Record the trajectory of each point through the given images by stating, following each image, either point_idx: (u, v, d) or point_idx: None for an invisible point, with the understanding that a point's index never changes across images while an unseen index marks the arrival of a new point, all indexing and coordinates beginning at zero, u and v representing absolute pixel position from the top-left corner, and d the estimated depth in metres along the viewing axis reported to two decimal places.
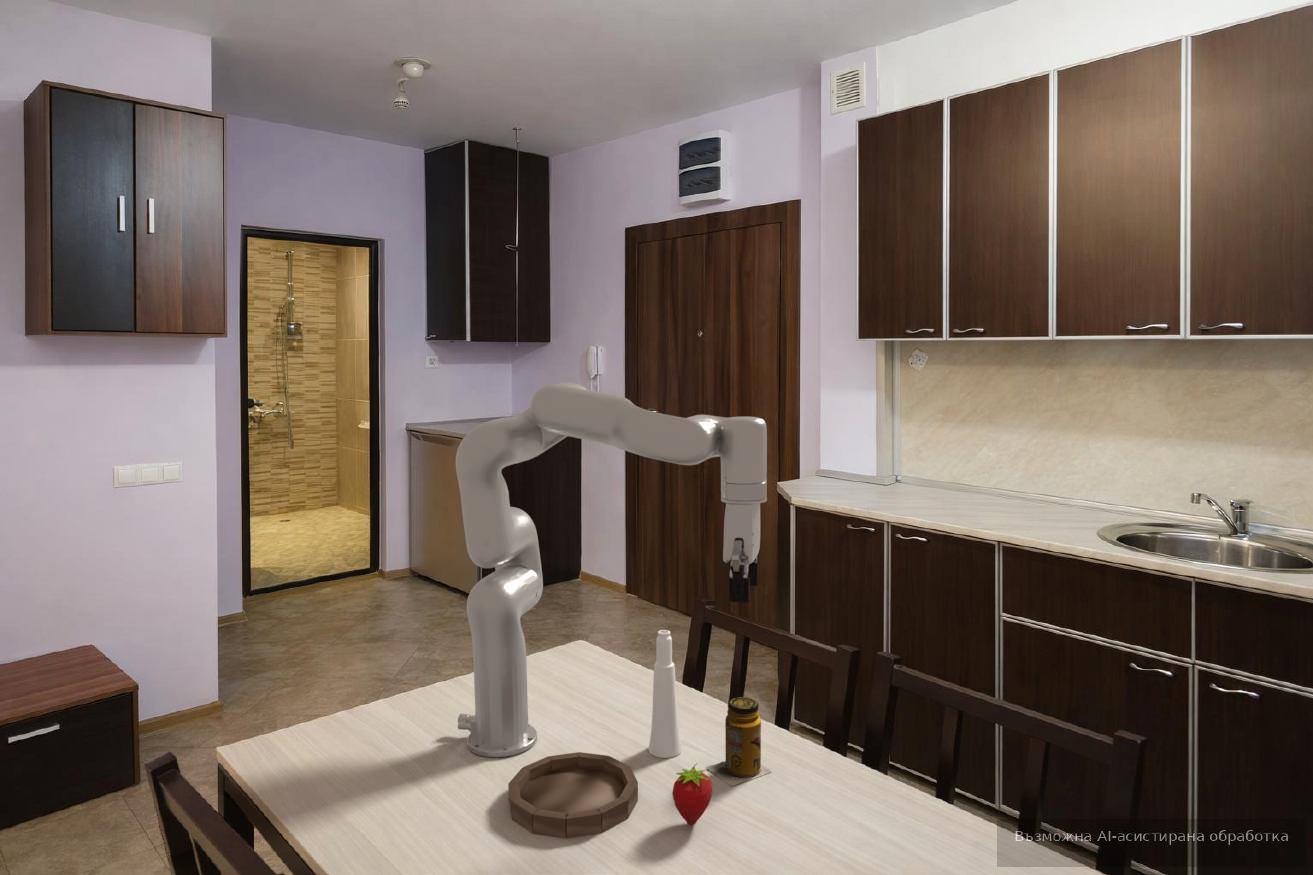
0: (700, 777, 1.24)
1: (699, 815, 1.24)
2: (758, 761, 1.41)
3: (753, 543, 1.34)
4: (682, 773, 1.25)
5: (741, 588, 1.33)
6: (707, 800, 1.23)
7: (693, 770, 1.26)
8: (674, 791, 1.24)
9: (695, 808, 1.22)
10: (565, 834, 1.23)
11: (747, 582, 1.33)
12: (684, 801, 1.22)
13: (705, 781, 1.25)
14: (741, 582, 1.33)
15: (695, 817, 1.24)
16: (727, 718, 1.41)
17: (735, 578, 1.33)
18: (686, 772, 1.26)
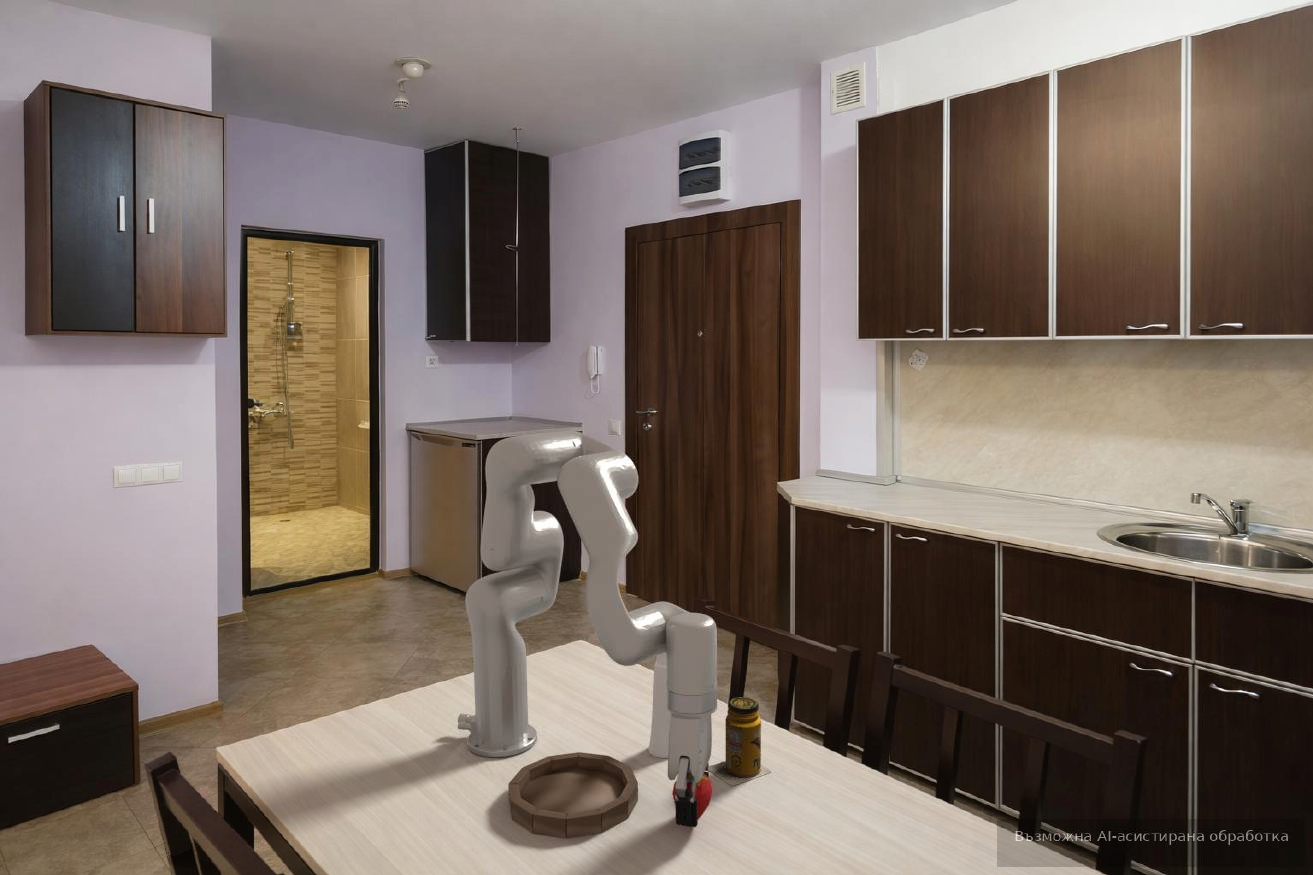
0: None
1: (699, 815, 1.24)
2: (758, 761, 1.41)
3: (700, 760, 1.20)
4: None
5: (688, 812, 1.21)
6: (707, 800, 1.23)
7: None
8: (674, 791, 1.24)
9: None
10: (565, 834, 1.23)
11: (695, 805, 1.21)
12: None
13: (705, 781, 1.25)
14: (688, 806, 1.20)
15: None
16: (727, 718, 1.41)
17: (681, 801, 1.21)
18: None
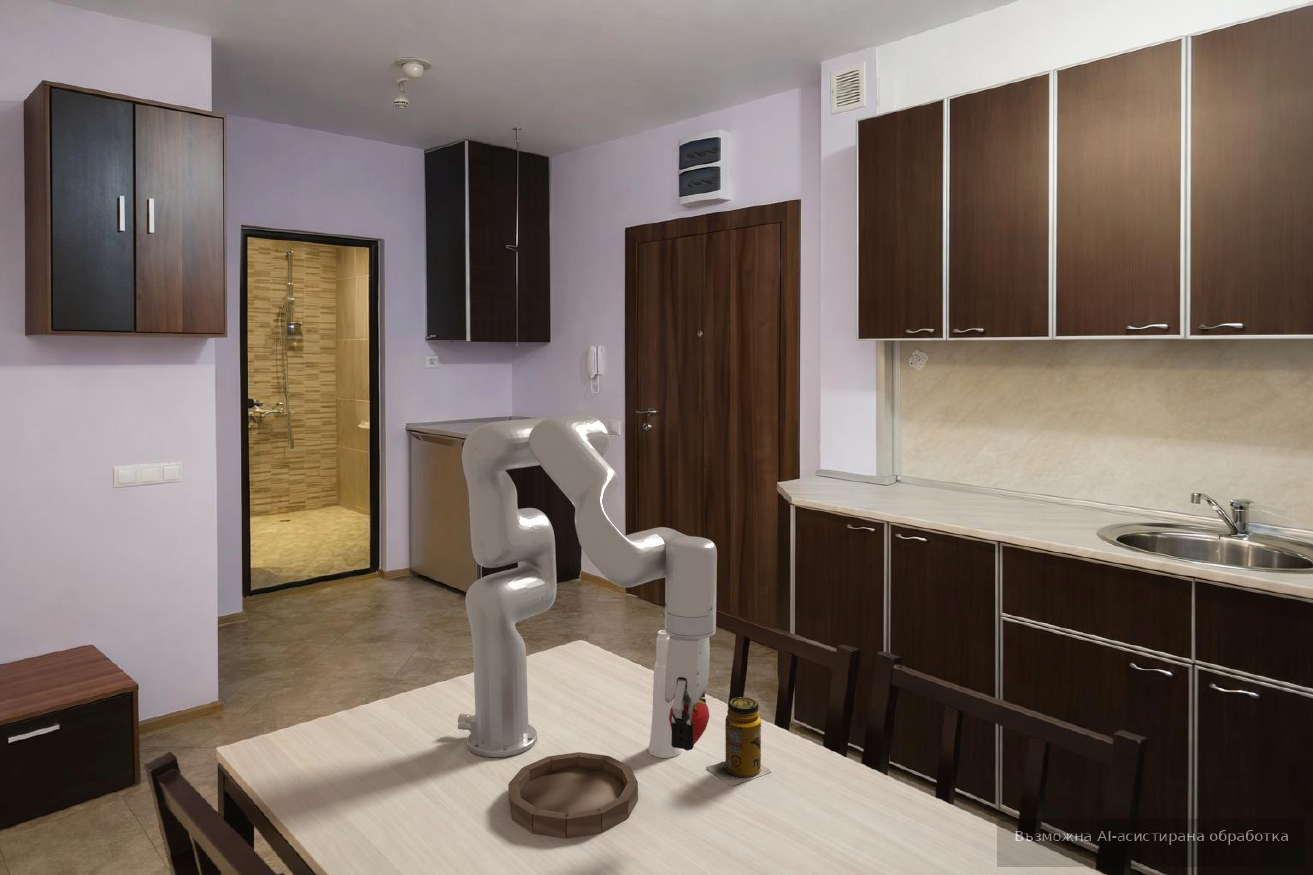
0: None
1: (695, 739, 1.23)
2: (758, 761, 1.41)
3: (698, 683, 1.20)
4: None
5: (684, 734, 1.20)
6: (704, 724, 1.23)
7: None
8: (671, 715, 1.23)
9: None
10: (565, 834, 1.23)
11: (692, 728, 1.20)
12: None
13: (702, 706, 1.24)
14: (684, 728, 1.20)
15: None
16: (727, 718, 1.41)
17: (678, 723, 1.20)
18: None
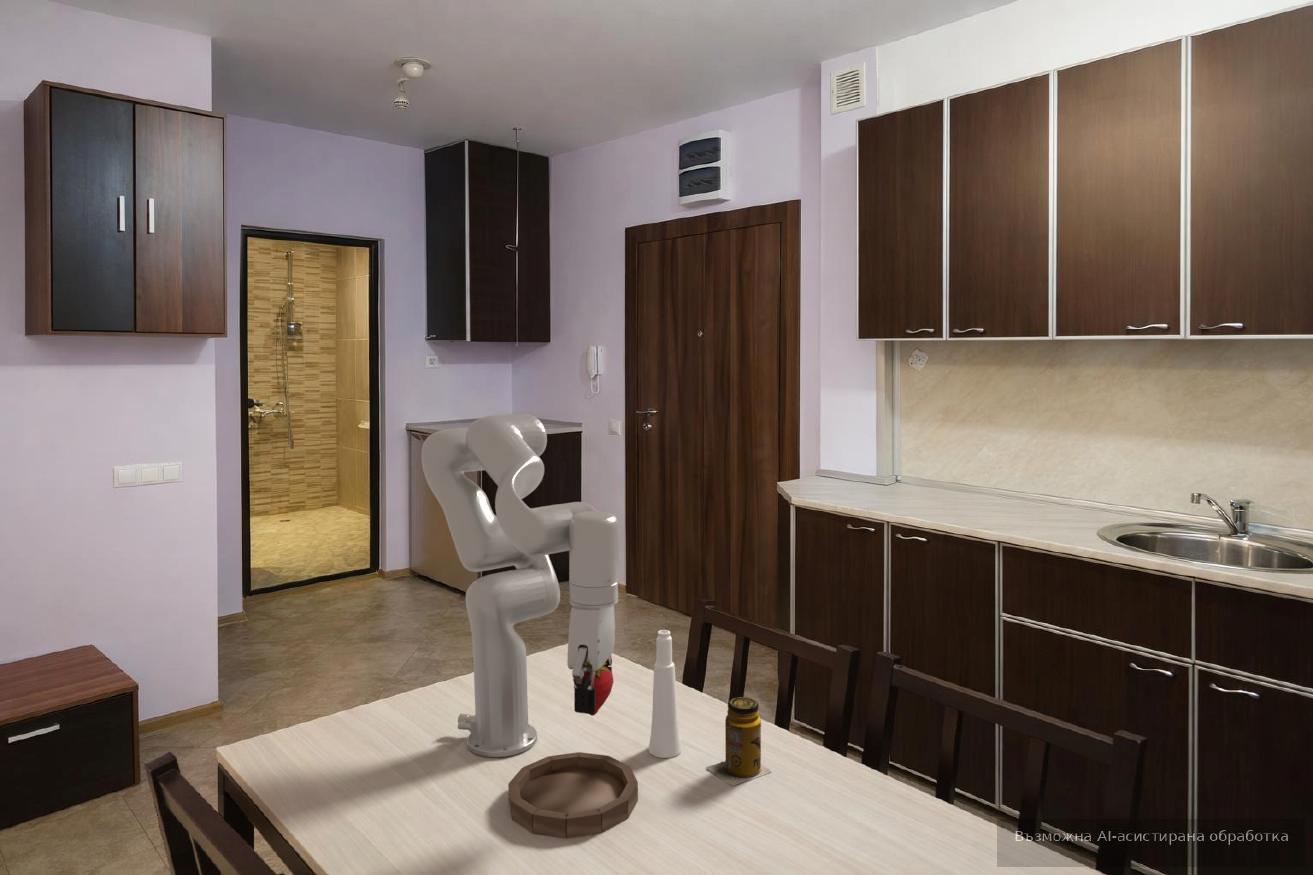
0: (601, 668, 1.29)
1: (599, 704, 1.28)
2: (758, 761, 1.41)
3: (599, 650, 1.25)
4: None
5: (586, 700, 1.25)
6: (606, 690, 1.28)
7: None
8: None
9: None
10: (565, 834, 1.23)
11: (593, 693, 1.25)
12: None
13: (606, 673, 1.29)
14: (586, 693, 1.25)
15: None
16: (727, 718, 1.41)
17: (579, 689, 1.25)
18: (588, 664, 1.30)
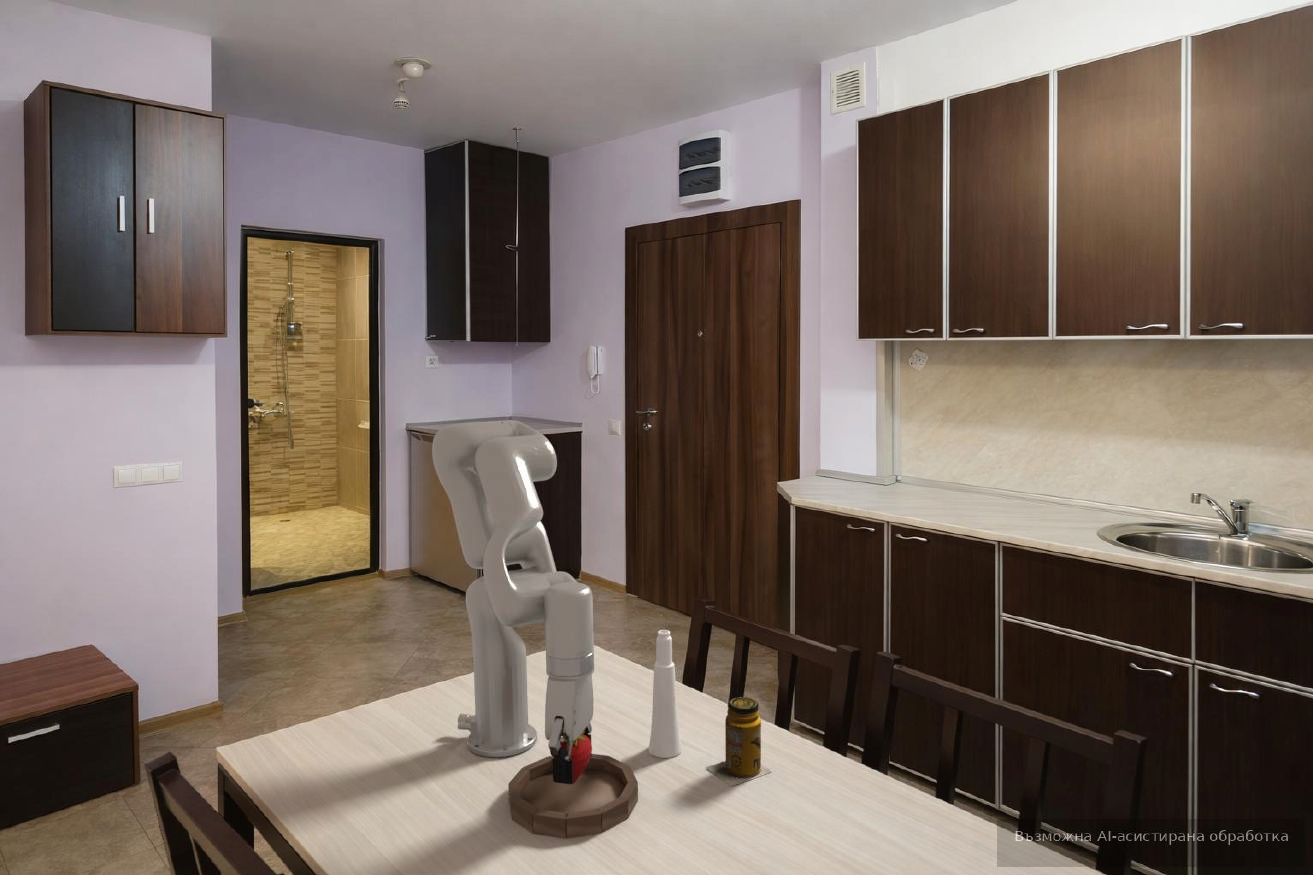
0: (578, 737, 1.31)
1: (577, 773, 1.31)
2: (758, 761, 1.41)
3: (575, 721, 1.27)
4: (562, 734, 1.32)
5: (563, 770, 1.27)
6: (584, 759, 1.30)
7: None
8: None
9: None
10: (565, 834, 1.23)
11: (570, 763, 1.28)
12: None
13: (584, 741, 1.32)
14: (563, 764, 1.27)
15: None
16: (727, 718, 1.41)
17: (557, 759, 1.27)
18: None
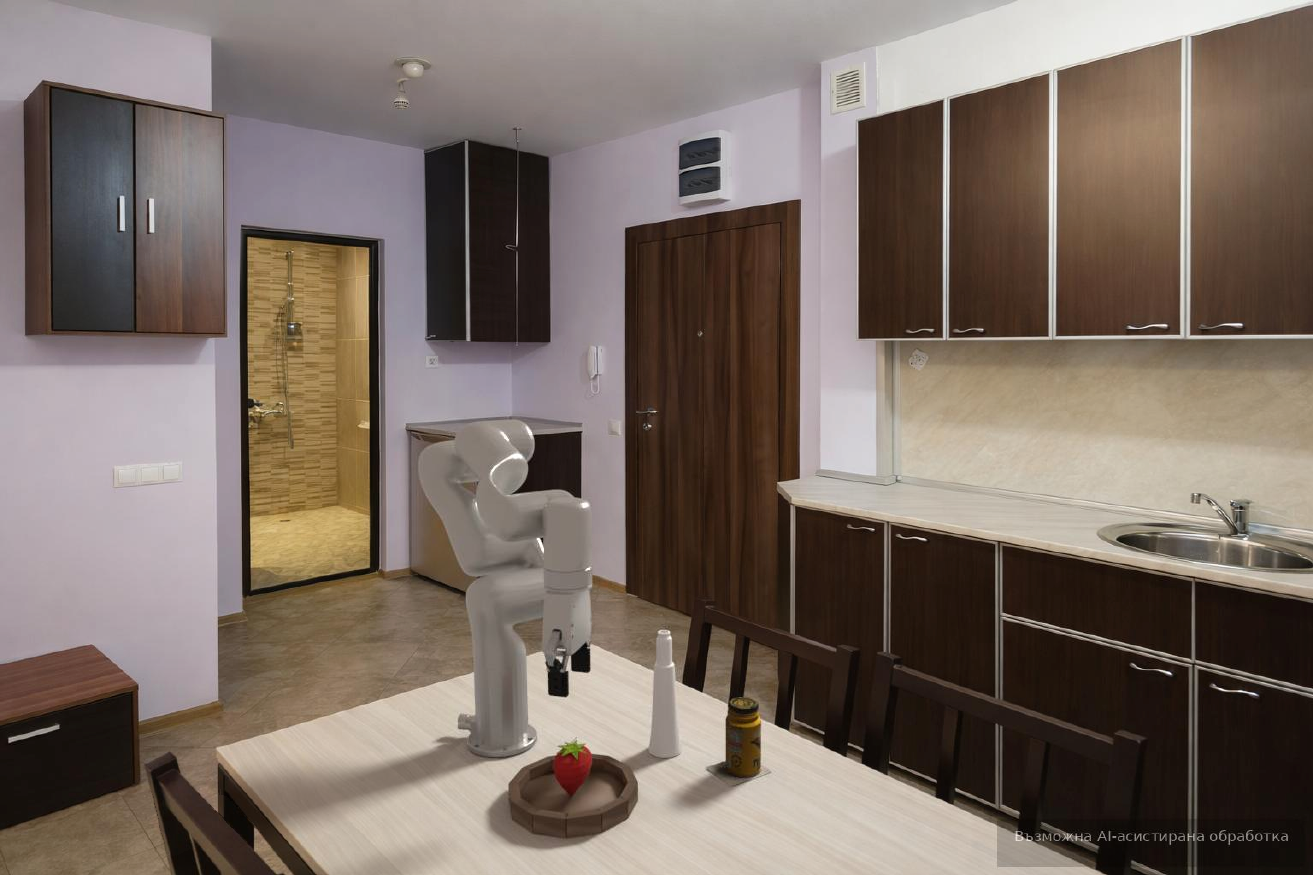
0: (579, 750, 1.31)
1: (577, 786, 1.31)
2: (758, 761, 1.41)
3: (573, 634, 1.26)
4: (563, 746, 1.32)
5: (559, 682, 1.25)
6: (585, 772, 1.30)
7: (574, 743, 1.33)
8: (554, 763, 1.31)
9: (572, 779, 1.29)
10: (565, 834, 1.23)
11: (566, 676, 1.26)
12: (561, 773, 1.29)
13: (584, 754, 1.32)
14: (558, 676, 1.25)
15: (573, 787, 1.31)
16: (727, 718, 1.41)
17: (552, 672, 1.25)
18: (567, 745, 1.32)
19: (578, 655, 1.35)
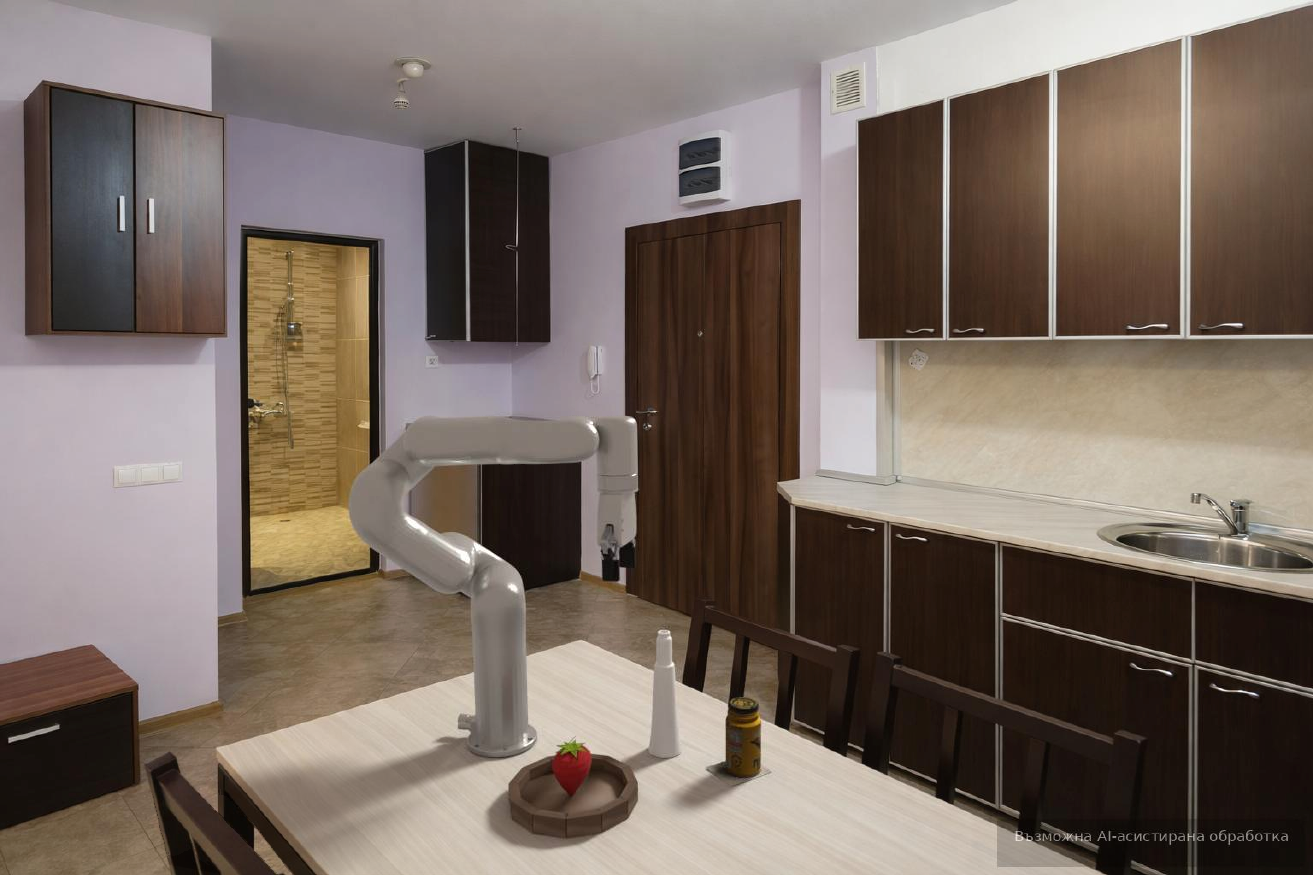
0: (578, 749, 1.31)
1: (577, 785, 1.31)
2: (758, 761, 1.41)
3: (623, 529, 1.50)
4: (562, 745, 1.33)
5: (611, 569, 1.49)
6: (584, 770, 1.31)
7: (573, 743, 1.33)
8: (553, 762, 1.31)
9: (571, 777, 1.29)
10: (565, 834, 1.23)
11: (617, 563, 1.49)
12: (561, 771, 1.29)
13: (583, 753, 1.32)
14: (611, 563, 1.49)
15: (573, 787, 1.31)
16: (727, 718, 1.41)
17: (606, 560, 1.49)
18: (566, 744, 1.33)
19: (625, 553, 1.59)
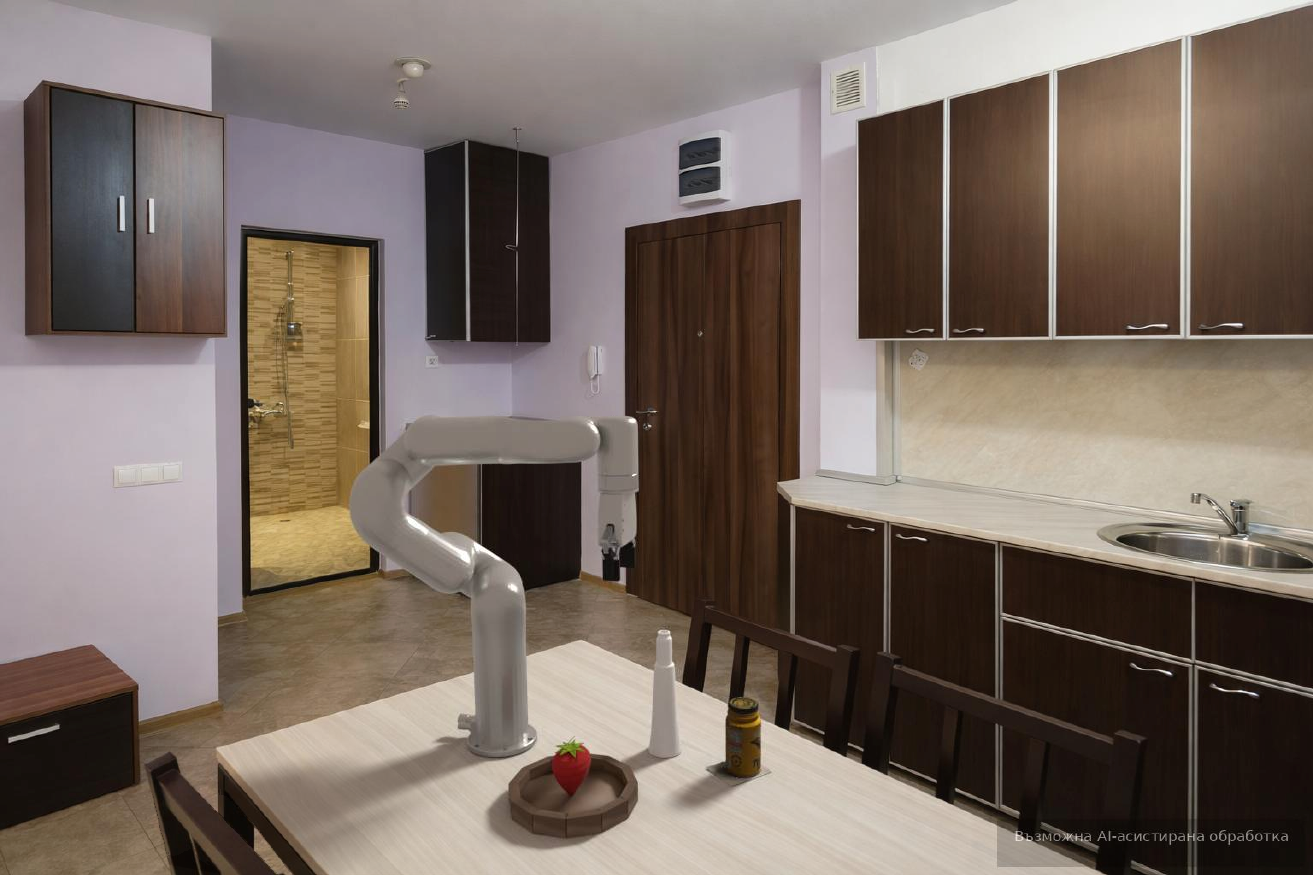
0: (577, 749, 1.31)
1: (576, 785, 1.31)
2: (758, 761, 1.41)
3: (623, 528, 1.50)
4: (561, 745, 1.33)
5: (612, 568, 1.49)
6: (583, 770, 1.31)
7: (572, 743, 1.33)
8: (552, 762, 1.31)
9: (571, 777, 1.29)
10: (565, 834, 1.23)
11: (618, 563, 1.49)
12: (560, 772, 1.29)
13: (583, 753, 1.32)
14: (612, 563, 1.49)
15: (572, 787, 1.31)
16: (727, 718, 1.41)
17: (606, 560, 1.49)
18: (565, 745, 1.33)
19: (625, 553, 1.59)
